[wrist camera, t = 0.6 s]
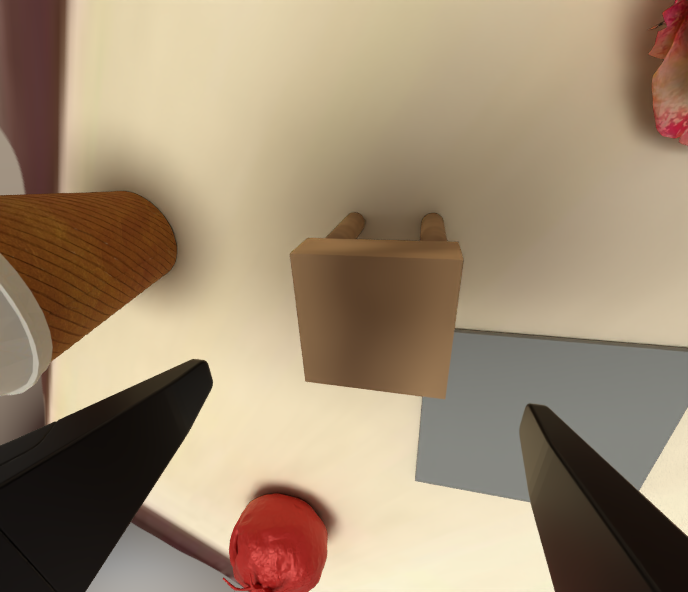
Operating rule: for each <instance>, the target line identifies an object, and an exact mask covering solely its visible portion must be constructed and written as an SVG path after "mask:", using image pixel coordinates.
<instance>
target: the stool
mask: <svg viewBox="0 0 688 592" xmlns="http://www.w3.org/2000/svg"><path fill="white" fill-rule="evenodd" d="M364 226H365V220H364V218H363V216H362V215H361V214H359V213H356V212H353V213H350V214H348V215H347V216H346V217H345V218H344V220H343V221H342V222H341V223H340V224H339V225H338V226H337V227H336V228H335V229H334V230H333V231H332V232H331V233H330V234H329V235H328V236H327V237H326V238H307V239H306V240H305V241H304V242H302V243H301V244H300V245H299V246H298V247H297V248H296V249H294V250H293V251H292V252H291V253H290V259H291V267H292V275H293V283H294V292H295V300H296V308H297V316H298V324H299V333H300V341H301V349H302V357H303V365H304V374H305V381H306V382H314V383H321V384H329V385H337V386H345V387H352V388H360V389H368V390H376V391H384V392H391V393H399V394H407V395H415V396H423V397H430V398H438V399H445V398H446V390H447V382H448V375H449V367H450V359H451V352H452V344H453V336H454V329H455V321H456V314H457V306H458V298H459V291H460V283H461V275H462V268H463V256H462V253H461V249H460V246H459V243H458V242H449V241H447V238H446V232H445V227H444V222H443V219H442V217H441V216H440V215H439V214H437V213H429V214H427V215H426V216H425V217H424V218H423V219H422V222H421V235H420V241H409V240H368V239H357V237H358V236H359V234H360V233H361V231H362V230H363V228H364Z"/></svg>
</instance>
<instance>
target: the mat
mask: <svg viewBox="0 0 688 592" xmlns="http://www.w3.org/2000/svg"><path fill="white" fill-rule="evenodd" d="M529 403H533V404H541V405H545V406H547V407H549V408H550V409H551V410H552V411H553V412H554V413H555V414H556V415H557V416H558V417H559V418H561V419H562V420H563V421H564V422H565V423H566V424H567V425H568V426H569V427H570V428H571V429H572V430H574V431H575V432H576V433H577V434H578V435H579V436H580V437H581V438H582V439H583V440H584V441H585V442H586V443H588V444H589V445H590V446H591V447H592V448H593V449H594V450H595V451H596V452H597V453H598V454H599V455H600V456H602V457H603V458H604V459H605V460H606V461H607V462H608V463H609V464H610V465H611V466H612V467H613V468H614V469H616V470H617V471H618V472H619V473H620V474H621V475H622V476H623V477H624V478H625V479H626V480H627V481H629V482H630V483H631V484H632V485H633V486H634V487H635V488H636V489H637V490H638V491H639V490H640V488H641V486H642V485H643V483H644V481H645V480H646V478H647V476H648V474H649V473H650V471H651V469H652V468H653V466H654V464H655V462H656V461H657V459H658V457H659V456H660V454H661V452H662V450H663V449H664V447H665V445H666V444H667V442H668V440H669V438H670V437H671V435H672V433H673V432H674V430H675V428H676V426H677V425H678V423H679V421H680V420H681V418H682V416H683V414H684V413H685V411H686V409H687V408H688V348H682V347H669V346H657V345H645V344H633V343H620V342H608V341H596V340H584V339H571V338H559V337H547V336H535V335H522V334H510V333H498V332H486V331H473V330H461V329H454V336H453V344H452V352H451V359H450V367H449V375H448V382H447V390H446V398H445V399H438V398H430V397H422V409H421V420H420V431H419V443H418V454H417V465H416V476H415V481H418V482H424V483H429V484H434V485H440V486H445V487H450V488H456V489H461V490H467V491H472V492H477V493H483V494H488V495H494V496H499V497H504V498H510V499H515V500H520V501H526V502H530V498H529V492H528V487H527V480H526V474H525V468H524V461H523V455H522V449H521V443H520V436H519V428H520V423H521V420H522V417H523V413H524V410H525V407H526V405H527V404H529Z"/></svg>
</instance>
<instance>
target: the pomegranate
mask: <svg viewBox="0 0 688 592" xmlns="http://www.w3.org/2000/svg"><path fill="white" fill-rule="evenodd" d="M327 537H328V533H327V530H326V528H325V525H324V523H323V522H322V520H321V519H320V517H319V516H318V515H317V514H316V513H315V511H314V510H313V509H312V507H311V506H310V505H308V504H307V503H306V502H305V501H303V500H301V499H299V498H296V497H292V496H287V495H284V494H276V493H275V494H267V495H262V496H260V497H258V498H256V499H254V500H252V501H251V502H250V503H249V504H248V505H247V506H246V508H245V510H244V511H243V512H242V514H241V516H240V518H239V520H238V521H237V523H236V525H235V527H234V529H233V532H232V535H231V539H230V546H229V555H230V561H231V565H232V566H233V572H234V576H235V579H236V580H237V582H239V583H240V584H241V585H242V586H243V587H244V588H242V589H240V588H236V587H234V586H233V585H232V584H230V583H229V582H228V581H227V580H226V579H225V578H223V580H225V582H227V584H228V585H229V586H230V587H231V588H232V589H234V590H239V591H249V592H308V591H309V590H311V589H312V588H314V587H315V586H316V585H317V583H318V582H319V580H320V577H321V574H322V570H323V568H324V565H325V562H326V559H327V540H328V539H327Z"/></svg>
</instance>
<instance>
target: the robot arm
mask: <svg viewBox="0 0 688 592" xmlns="http://www.w3.org/2000/svg"><path fill="white" fill-rule="evenodd" d="M212 386H213V379H212V376H211V372H210V369H209V365H208V363H207V362H206V361H205V360H199V359H192V360H189V361H187V362H185V363H183V364H181V365H178V366H176V367H174V368H172V369H170V370H167V371H165V372H163V373H161V374H159V375H156V376H154V377H152V378H150V379H148V380H145V381H143V382H141V383H139V384H137V385H134V386H132V387H130V388H128V389H126V390H123V391H121V392H119V393H117V394H115V395H112V396H110V397H108V398H106V399H104V400H101V401H99V402H97V403H95V404H93V405H90V406H88V407H86V408H84V409H82V410H79V411H77V412H75V413H73V414H71V415H68V416H66V417H64V418H62V419H60V420H58V421H57V422H53V423H51V424H48V425H46V426H44V427H42V428H40V429H37V430H35V431H33V432H31V433H28V434H26V435H24V436H21V437H19V438H17V439H15V440H12V441H10V442H8V443H5V444H3V445H0V592H85V591H86V590H87V589H88V587H89V585H90V584H91V582H92V581H93V579H94V578H95V576H96V575H97V573H98V571H99V570H100V569H101V567H102V565H103V564H104V562H105V561H106V559H107V558H108V556H109V554H110V553H111V552H112V550H113V548H114V547H115V545H116V544H117V542H118V541H119V539H120V538H121V536H122V534H123V533H124V532H125V530H126V528H127V527H128V525H129V524H130V522H131V521H132V519H133V518H134V516H135V515H136V513H137V511H138V510H139V508H140V507H141V505H142V504H143V502H144V501H145V499H146V498H147V496H148V495H149V493H150V491H151V490H152V488H153V487H154V485H155V484H156V482H157V481H158V479H159V478H160V476H161V474H162V473H163V471H164V470H165V468H166V467H167V465H168V464H169V462H170V461H171V459H172V458H173V456H174V454H175V453H176V451H177V450H178V448H179V447H180V445H181V444H182V442H183V441H184V439H185V437H186V436H187V434H188V432H189V431H190V429H191V427H192V425H193V423H194V421H195V419H196V418H197V416H198V414H199V412H200V410H201V408H202V406H203V404H204V402H205V400H206V398H207V397H208V395H209V393H210V391H211V389H212ZM519 436H520V443H521V449H522V455H523V461H524V468H525V474H526V480H527V487H528V492H529V498H530V502H531V506H532V510H533V514H534V517H535V521H536V525H537V528H538V532H539V535H540V539H541V543H542V546H543V550H544V554H545V557H546V561H547V564H548V568H549V572H550V575H551V579H552V583H553V586H554V590H555V592H688V536H687V535H686V534H685V533H684V532H682V531H681V530H680V529H679V528H678V527H677V526H676V525H675V524H674V523H673V522H672V521H671V520H670V519H668V518H667V517H666V516H665V515H664V514H663V513H662V512H661V511H660V510H659V509H658V508H657V507H655V506H654V505H653V504H652V503H651V502H650V501H649V500H648V499H647V498H646V497H645V496H644V495H643V494H641V493H640V492H639V491H638V490H637V489H636V488H635V487H634V486H633V485H632V484H631V483H630V482H629V481H627V480H626V479H625V478H624V477H623V476H622V475H621V474H620V473H619V472H618V471H617V470H616V469H614V468H613V467H612V466H611V465H610V464H609V463H608V462H607V461H606V460H605V459H604V458H603V457H602V456H600V455H599V454H598V453H597V452H596V451H595V450H594V449H593V448H592V447H591V446H590V445H589V444H588V443H586V442H585V441H584V440H583V439H582V438H581V437H580V436H579V435H578V434H577V433H576V432H575V431H574V430H572V429H571V428H570V427H569V426H568V425H567V424H566V423H565V422H564V421H563V420H562V419H561V418H559V417H558V416H557V415H556V414H555V413H554V412H553V411H552V410H551V409H550V408H549V407H547V406H545V405H541V404H533V403H529V404H527V405H526V407H525V410H524V413H523V417H522V420H521V423H520V428H519Z"/></svg>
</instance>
